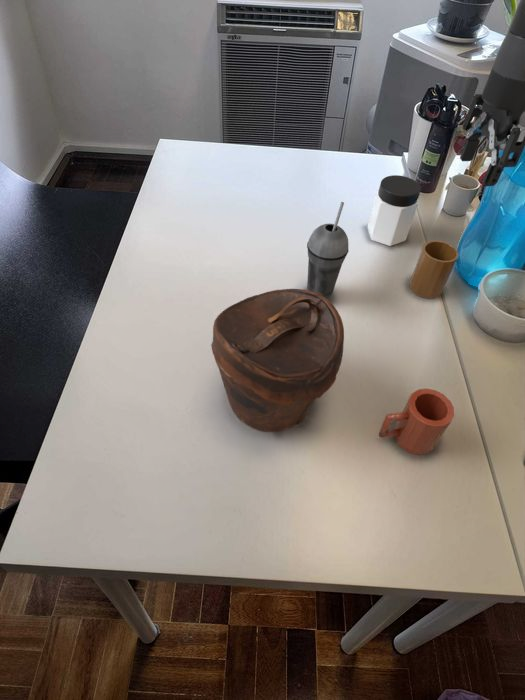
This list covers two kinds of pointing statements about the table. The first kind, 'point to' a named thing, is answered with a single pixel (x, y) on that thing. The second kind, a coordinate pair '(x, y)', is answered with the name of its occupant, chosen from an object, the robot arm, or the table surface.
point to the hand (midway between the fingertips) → (476, 172)
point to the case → (277, 355)
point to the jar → (393, 210)
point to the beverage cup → (326, 257)
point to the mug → (420, 421)
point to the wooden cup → (433, 269)
